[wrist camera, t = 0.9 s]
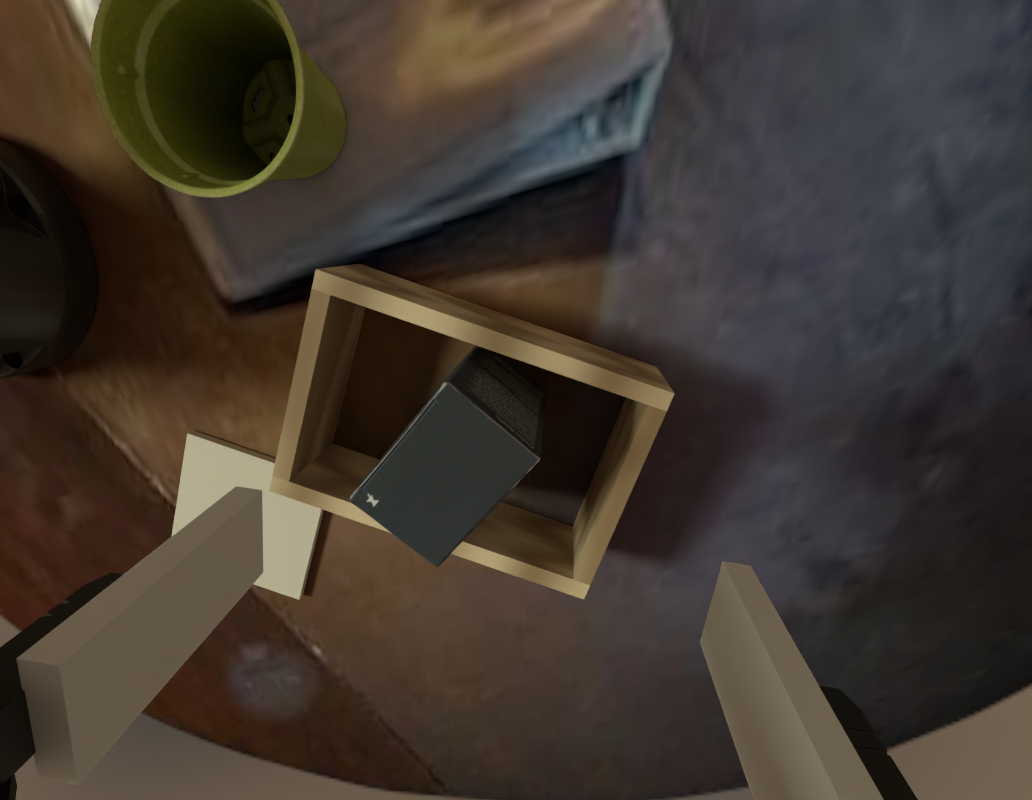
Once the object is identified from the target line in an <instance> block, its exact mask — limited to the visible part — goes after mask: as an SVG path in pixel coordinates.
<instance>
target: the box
mask: <svg viewBox="0 0 1032 800" xmlns="http://www.w3.org/2000/svg"><path fill="white" fill-rule="evenodd" d="M546 400H547V396H546V395H545V394H544V393H543V392H541V391H540V390H539V389H538V388H537V387H535V386H534V385H533V384H532V383H531V382H530V381H529V380H527V379H526V378H525V377H524V376H523V375H522V374H520V373H519V372H518V371H517V370H516V369H515V368H513V367H512V366H511V365H510V364H509V363H508V362H507V361H505V360H504V359H503V358H502V357H501V356H500V355H498V354H497V353H496V352H494V351H491V350H488V349H485V348H482V347H479V346H475V347H474V348H473V349H472V350H471V351H470V352H469V353H468V354H467V356H466V357H465V358H464V359H463V360H462V361H461V362H460V363H459V365H458V366H457V367H456V368H455V369H454V370H453V372H452V373H451V374H450V375H449V376H448V377H447V379H446V380H445V381H444V382H443V383H442V385H441V386H440V387H439V388H438V389H437V391H436V392H435V393H434V394H433V395H432V397H431V398H430V399H429V400H428V401H427V403H426V404H425V405H424V406H423V407H422V409H421V410H420V411H419V412H418V414H417V415H416V416H415V417H414V418H413V420H412V421H411V422H410V423H409V424H408V426H407V427H406V428H405V429H404V431H403V432H402V433H401V434H400V436H399V437H398V438H397V439H396V441H395V442H394V443H393V444H392V445H391V447H390V448H389V449H388V450H387V452H386V453H385V454H384V455H383V456H382V458H381V459H380V460H379V461H378V463H377V464H376V465H375V466H374V468H373V469H372V470H371V471H370V472H369V474H368V475H367V476H366V477H365V478H364V480H363V481H362V482H361V483H360V485H359V486H358V487H357V488H356V490H355V491H354V492H353V494H352V495H351V497H350V502H351V503H352V504H353V505H355V506H356V507H358V508H359V509H361V510H362V511H363V512H365V513H366V514H367V515H369V516H370V517H371V518H373V519H374V520H375V521H377V522H378V523H379V524H380V525H382V526H383V527H384V528H385V529H387V530H388V531H389V532H391V533H392V534H393V535H394V536H396V537H397V538H398V539H400V540H401V541H402V542H404V543H405V544H406V545H407V546H409V547H410V548H411V549H413V550H414V551H415V552H417V553H418V554H419V555H421V556H422V557H423V558H425V559H426V560H428V561H429V562H430V563H432V564H433V565H435V566H437V567H438V566H440V565H441V564H442V563H443V562H444V561H445V560H446V559H447V557H448V556H449V555H450V554H451V553H452V552H453V551H454V550H455V549H456V548H457V547H458V546H459V545H460V544H461V542H462V541H463V540H464V539H465V538H466V537H467V536H468V535H469V534H470V533H471V532H472V531H473V530H474V529H475V528H476V527H477V525H478V524H479V523H480V522H481V521H482V520H483V519H484V518H485V517H486V516H487V515H488V514H489V513H490V512H491V511H492V510H493V509H494V508H495V507H496V506H497V505H498V504H499V502H500V501H501V500H502V499H503V498H504V497H505V496H506V495H507V494H508V493H509V492H510V491H511V490H512V489H513V488H514V487H515V486H516V485H517V483H518V482H519V481H520V480H521V479H522V478H523V477H524V476H525V475H526V474H527V473H528V472H529V471H530V470H531V469H532V468H533V467H534V466H535V465H536V464H537V463H538V462H539V460H540V451H541V442H542V434H543V425H544V417H545V408H546Z"/></svg>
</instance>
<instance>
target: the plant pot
mask: <svg viewBox="0 0 1032 800" xmlns="http://www.w3.org/2000/svg"><path fill="white" fill-rule="evenodd" d="M91 66H92V72H93V80H94V84H95V90H96V94H97V97H98V100H99V103H100V106H101V109H102V112H103V115H104V117H105V120H106V122H107V124H108V125H109V127H110V129H111V131H112V133H113V135H114V136H115V138H116V139H117V141H118V143H119V144H120V145H121V147H122V148H123V149H124V151H125V152H126V153H127V154H128V155H129V157H130V158H131V159H132V160H133V161H134V162H135V163H136V164H137V165H138V166H139V167H140V168H141V169H142V170H143V171H145V172H146V173H147V174H148V175H150V176H151V177H152V178H154V179H156V180H157V181H159V182H161V183H162V184H164V185H166V186H168V187H170V188H172V189H174V190H176V191H179V192H182V193H185V194H189V195H193V196H199V197H211V198H220V197H229V196H235V195H238V194H242V193H245V192H247V191H250V190H252V189H254V188H256V187H258V186H259V185H261V184H263V183H264V182H266V181H269V180H282V179H300V178H307V177H311V176H313V175H315V174H318V173H320V172H322V171H324V170H325V169H327V168H328V167H329V166H330V165H331V164H332V163H333V162H334V160H335V159H336V157H337V156H338V154H339V152H340V150H341V148H342V146H343V143H344V139H345V133H346V118H345V114H344V110H343V106H342V102H341V100H340V97H339V94H338V92H337V89H336V88H335V86H334V85H333V83H332V82H331V81H330V79H329V78H328V77H327V76H326V75H325V74H324V73H323V72H322V70H321V69H320V68H319V67H318V66H317V65H316V64H315V63H314V61H313V60H312V59H311V58H310V57H309V56H308V55H307V54H306V52H305V51H304V50H303V49H302V48H301V47H300V46H299V43H298V41H297V38H296V35H295V32H294V29H293V27H292V25H291V23H290V21H289V19H288V17H287V15H286V13H285V12H284V10H283V8H282V7H281V5H280V4H279V2H278V1H277V0H101V3H100V5H99V9H98V12H97V15H96V18H95V22H94V27H93V32H92V41H91ZM262 87H263V88H264V93H263V96H262V98H261V99H260V101H259V105H258V110H257V111H256V112H254V111H253V109H252V104H253V99H254V97H255V94H256V92H257V91H258V90H259V89H260V88H262ZM289 115H293V120H292V124H290V123H289V122H288V121H287V118H288V116H289ZM270 153H274V154H275V155H277V156H276V157H275V158H274V160H272V159H271V157H270Z"/></svg>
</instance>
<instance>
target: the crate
mask: <svg viewBox="0 0 1032 800" xmlns="http://www.w3.org/2000/svg"><path fill="white" fill-rule="evenodd" d="M366 307H367V308H370V309H373V310H375V311H378V312H381V313H384V314H387V315H390V316H393V317H396V318H399V319H401V320H404V321H407V322H410V323H413V324H416V325H419V326H422V327H425V328H427V329H430V330H433V331H436V332H439V333H442V334H445V335H448V336H451V337H453V338H456V339H459V340H462V341H465V342H468V343H471V344H474V345H476V346H479V347H482V348H485V349H488V350H491V351H494V352H497V353H500V354H502V355H505V356H508V357H511V358H514V359H517V360H520V361H523V362H526V363H528V364H531V365H534V366H537V367H540V368H543V369H546V370H549V371H552V372H554V373H557V374H560V375H563V376H566V377H569V378H572V379H575V380H578V381H580V382H583V383H586V384H589V385H592V386H595V387H598V388H601V389H603V390H606V391H609V392H612V393H615V394H618V395H621V396H624V397H626V399H625V401H624V403H623V406H622V408H621V411H620V413H619V415H618V418H617V420H616V423H615V425H614V428H613V430H612V432H611V435H610V437H609V440H608V442H607V445H606V447H605V449H604V452H603V454H602V457H601V459H600V461H599V464H598V466H597V469H596V471H595V474H594V476H593V478H592V481H591V483H590V486H589V488H588V491H587V493H586V495H585V498H584V500H583V503H582V505H581V507H580V510H579V512H578V515H577V517H576V520H575V522H574V524H573V526H570V525H567V524H564V523H561V522H559V521H556V520H553V519H550V518H547V517H544V516H541V515H538V514H535V513H532V512H530V511H527V510H524V509H521V508H518V507H515V506H512V505H509V504H506V503H504V502H501V501H500V502H499V504H498V505H497V506H496V507H495V508H494V509H493V510H492V511H491V512H490V513H489V514H488V515H487V516H486V517H485V518H484V519H483V520H482V521H481V522H480V523H479V524H478V525H477V527H476V528H475V529H474V530H473V531H472V532H471V533H470V534H469V535H468V536H467V537H466V538H465V539H464V540H463V541H462V542H461V544H460V545H459V546H458V547H457V548H456V549H455V550H454V551H453V552H452V553H451V554H453V555H456V556H459V557H462V558H465V559H468V560H471V561H474V562H477V563H480V564H482V565H485V566H488V567H491V568H494V569H497V570H500V571H503V572H506V573H509V574H511V575H514V576H517V577H520V578H523V579H526V580H529V581H532V582H535V583H538V584H541V585H543V586H546V587H549V588H552V589H555V590H558V591H561V592H564V593H567V594H570V595H572V596H575V597H578V598H581V599H584V598H585V596H586V593H587V591H588V589H589V586H590V584H591V582H592V580H593V577H594V575H595V573H596V571H597V568H598V566H599V564H600V562H601V559H602V557H603V555H604V552H605V550H606V548H607V546H608V543H609V541H610V539H611V537H612V534H613V532H614V530H615V528H616V525H617V523H618V521H619V519H620V516H621V514H622V512H623V509H624V507H625V505H626V503H627V500H628V498H629V496H630V494H631V491H632V489H633V487H634V485H635V482H636V480H637V478H638V475H639V473H640V471H641V469H642V466H643V464H644V462H645V460H646V457H647V455H648V453H649V451H650V448H651V446H652V444H653V442H654V439H655V437H656V435H657V432H658V430H659V428H660V426H661V423H662V421H663V419H664V417H665V414H666V412H667V410H668V408H669V405H670V403H671V401H672V398H673V396H674V394H675V393H674V392H673V390H672V389H671V387H670V386H669V384H668V383H667V382H666V380H665V379H664V377H663V376H662V374H661V373H660V371H659V370H658V368H657V367H656V366H653V365H650V364H647V363H644V362H641V361H638V360H636V359H633V358H630V357H627V356H624V355H621V354H618V353H615V352H613V351H610V350H607V349H604V348H601V347H598V346H595V345H592V344H589V343H587V342H584V341H581V340H578V339H575V338H572V337H569V336H566V335H564V334H561V333H558V332H555V331H552V330H549V329H546V328H543V327H540V326H538V325H535V324H532V323H529V322H526V321H523V320H520V319H517V318H514V317H512V316H509V315H506V314H503V313H500V312H497V311H494V310H491V309H489V308H486V307H483V306H480V305H477V304H474V303H471V302H468V301H465V300H463V299H460V298H457V297H454V296H451V295H448V294H445V293H442V292H440V291H437V290H434V289H431V288H428V287H425V286H422V285H419V284H416V283H414V282H411V281H408V280H405V279H402V278H399V277H396V276H393V275H390V274H388V273H385V272H382V271H379V270H376V269H373V268H370V267H367V266H365V265H362V264H354V265H346V266H338V267H329V268H321V269H316V270H315V275H314V280H313V285H312V289H311V294H310V299H309V304H308V308H307V313H306V318H305V323H304V327H303V332H302V337H301V342H300V346H299V351H298V356H297V361H296V366H295V370H294V375H293V380H292V385H291V389H290V394H289V399H288V404H287V408H286V413H285V418H284V423H283V427H282V432H281V437H280V442H279V446H278V451H277V456H276V461H275V465H274V470H273V475H272V480H271V484H270V489H269V491H271V492H274V493H276V494H279V495H282V496H285V497H288V498H291V499H294V500H297V501H300V502H303V503H305V504H308V505H311V506H314V507H317V508H320V509H323V510H326V511H329V512H332V513H334V514H337V515H340V516H343V517H346V518H349V519H352V520H355V521H358V522H361V523H363V524H366V525H369V526H372V527H375V528H378V529H381V530H384V531H387V532H389V531H388V530H387V529H385V528H384V527H383V526H382V525H380V524H379V523H378V522H377V521H375V520H374V519H373V518H371V517H370V516H369V515H367V514H366V513H365V512H363V511H362V510H361V509H359V508H358V507H356V506H355V505H353V504H352V503H351V502H350V497H351V495H352V494H353V492H354V491H355V490H356V488H357V487H358V486H359V485H360V483H361V482H362V481H363V480H364V478H365V477H366V476H367V475H368V474H369V472H370V471H371V470H372V469H373V468H374V466H375V465H376V464H377V463H378V461H379V459H376V458H373V457H370V456H367V455H364V454H362V453H359V452H356V451H353V450H350V449H347V448H344V447H341V446H338V445H335V444H333V441H334V437H335V433H336V429H337V425H338V421H339V417H340V412H341V408H342V404H343V400H344V396H345V392H346V388H347V384H348V380H349V375H350V371H351V367H352V363H353V359H354V355H355V351H356V347H357V343H358V339H359V334H360V330H361V326H362V322H363V318H364V314H365V310H366ZM390 533H391V532H390Z"/></svg>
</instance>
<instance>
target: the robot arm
mask: <svg viewBox="0 0 1032 800" xmlns="http://www.w3.org/2000/svg"><path fill="white" fill-rule="evenodd" d="M96 289H97V286H96V270H95V264H94V258H93V254H92V250H91V247H90V243H89V240H88V237H87V235H86V232H85V230H84V227H83V225H82V223H81V221H80V219H79V217H78V215H77V213H76V211H75V210H74V208H73V206H72V205H71V203H70V201H69V200H68V198H67V197H66V196H65V194H64V193H63V191H62V190H61V189H60V188H59V186H58V185H57V184H56V183H55V182H54V180H53V179H52V178H51V177H50V176H49V175H48V174H47V173H46V172H45V171H44V170H43V169H42V168H41V167H40V166H39V165H38V164H36V163H35V162H34V161H33V160H32V159H31V158H29V157H28V156H26V155H25V154H24V153H22V152H21V151H19V150H18V149H16V148H15V147H13V146H11V145H10V144H8V143H6V142H4V141H2V140H0V379H1V378H8V377H12V376H16V375H20V374H24V373H29V372H33V371H37V370H41V369H44V368H47V367H49V366H51V365H53V364H55V363H57V362H59V361H61V360H62V359H63V358H65V357H66V356H67V355H68V354H70V353H71V352H72V351H73V350H74V349H75V348H76V346H77V345H78V344H79V343H80V341H81V340H82V338H83V337H84V335H85V333H86V331H87V329H88V327H89V325H90V322H91V319H92V316H93V312H94V307H95V301H96ZM262 573H263V511H262V490H258V489H251V488H245V487H238V486H236V487H235V488H233V489H232V490H231V491H229V492H228V493H227V494H226V495H224V496H223V497H222V498H220V499H219V500H218V501H217V502H215V503H214V504H213V505H212V506H210V507H209V508H208V509H206V510H205V511H204V512H203V513H201V514H200V515H199V516H198V517H196V518H195V519H194V520H192V521H191V522H190V523H189V524H187V525H186V526H185V527H184V528H182V529H181V530H180V531H178V532H177V533H176V534H175V535H173V536H172V537H171V538H169V539H168V540H167V541H166V542H164V543H163V544H162V545H161V546H159V547H158V548H157V549H155V550H154V551H153V552H152V553H150V554H149V555H148V556H147V557H145V558H144V559H143V560H141V561H140V562H139V563H138V564H136V565H135V566H134V567H133V568H131V569H130V570H129V571H127V572H126V573H125V574H124V575H123V574H117V573H110V574H107V575H105V576H103V577H101V578H99V579H96V580H94V581H92V582H90V583H88V584H85V585H84V586H82V587H81V588H80V589H78V590H77V591H76V592H74V593H73V594H72V595H70V596H69V597H68V598H66V599H65V600H64V601H63V603H62V604H58V605H57V606H55V607H54V608H53V609H51V610H50V611H49V612H47V613H46V615H45V617H41V618H39V619H38V620H37V621H35V622H34V623H33V624H31V625H30V626H28V627H27V628H26V629H24V630H23V631H22V632H20V633H19V634H18V635H16V636H15V637H14V638H13V639H11V640H10V641H8V642H7V643H6V644H4V645H3V646H2V647H0V800H15V798H16V790H17V784H16V779H15V774H14V773H15V772H16V771H17V770H18V769H19V768H20V767H21V766H22V765H23V764H24V763H25V762H26V761H27V760H28V759H29V758H30V757H31V756H32V755H33V754H34V757H35V762H36V768H37V773H38V778H42V779H48V780H54V781H59V782H66V783H71V784H76V785H77V784H79V783H80V782H81V780H82V779H83V778H84V777H85V776H86V775H87V774H88V773H89V771H90V770H91V769H92V768H93V767H94V766H95V764H96V763H97V762H98V761H99V760H100V759H101V758H102V756H103V755H104V754H105V753H106V752H107V751H108V750H109V748H110V747H111V746H112V745H113V744H114V743H115V742H116V741H117V739H118V738H119V737H120V736H121V735H122V734H123V732H124V731H125V730H126V729H127V728H128V727H129V725H130V724H131V723H132V722H133V721H134V720H135V719H136V718H137V716H138V715H139V714H140V713H141V712H142V711H143V710H144V708H145V707H146V706H147V705H148V704H149V703H150V702H151V700H152V699H153V698H154V697H155V696H156V695H157V694H158V692H159V691H160V690H161V689H162V688H163V687H164V686H165V684H166V683H167V682H168V681H169V680H170V679H171V677H172V676H173V675H174V674H175V673H176V672H177V671H178V669H179V668H180V667H181V666H182V665H183V664H184V663H185V661H186V660H187V659H188V658H189V657H190V656H191V655H192V653H193V652H194V651H195V650H196V649H197V648H198V647H199V645H200V644H201V643H202V642H203V641H204V640H205V639H206V637H207V636H208V635H209V634H210V633H211V632H212V631H213V629H214V628H215V627H216V626H217V625H218V624H219V623H220V621H221V620H222V619H223V618H224V617H225V616H226V614H227V613H228V612H229V611H230V610H231V609H232V608H233V606H234V605H235V604H236V603H237V602H238V601H239V600H240V598H241V597H242V596H243V595H244V594H245V593H246V592H247V590H248V589H249V588H250V587H251V586H252V585H253V584H254V582H255V581H256V580H257V579H258V578H259V577H260V576H261V574H262ZM700 644H701V647H702V650H703V653H704V656H705V659H706V662H707V665H708V667H709V670H710V673H711V676H712V679H713V682H714V685H715V688H716V691H717V694H718V697H719V700H720V703H721V706H722V709H723V712H724V714H725V717H726V720H727V723H728V726H729V729H730V732H731V735H732V738H733V741H734V744H735V747H736V750H737V753H738V756H739V759H740V761H741V764H742V767H743V770H744V773H745V776H746V779H747V782H748V785H749V788H750V791H751V794H752V797H753V800H918V799H917V798H916V796H915V795H914V793H913V791H912V790H911V788H910V787H909V785H908V783H907V782H906V780H905V779H904V777H903V775H902V774H901V772H900V771H899V769H898V768H897V766H896V764H895V763H894V761H893V760H892V758H891V757H890V756H888V755H887V750H886V748H885V747H884V745H883V744H882V742H881V741H880V739H879V737H877V736H875V731H874V729H873V728H872V726H871V725H870V723H869V721H868V720H867V718H866V717H865V715H864V714H863V712H862V710H861V709H860V708H859V707H858V706H857V705H856V704H855V703H854V702H853V701H852V700H851V699H849V698H848V697H847V696H846V695H845V694H844V693H843V692H842V691H841V690H840V689H837V688H831V687H825V686H819V685H818V684H817V682H816V680H815V678H814V677H813V675H812V673H811V671H810V670H809V668H808V666H807V664H806V663H805V661H804V659H803V657H802V655H801V654H800V652H799V650H798V648H797V647H796V645H795V643H794V641H793V640H792V638H791V636H790V634H789V633H788V631H787V629H786V627H785V626H784V624H783V622H782V620H781V619H780V617H779V615H778V613H777V612H776V610H775V608H774V606H773V605H772V603H771V601H770V599H769V598H768V596H767V594H766V592H765V591H764V589H763V587H762V585H761V584H760V582H759V580H758V578H757V576H756V575H755V573H754V571H753V569H752V568H751V566H749V565H743V564H736V563H730V562H722V565H721V569H720V572H719V576H718V579H717V583H716V587H715V590H714V594H713V597H712V601H711V604H710V608H709V612H708V615H707V619H706V622H705V626H704V629H703V633H702V636H701V640H700Z"/></svg>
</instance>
